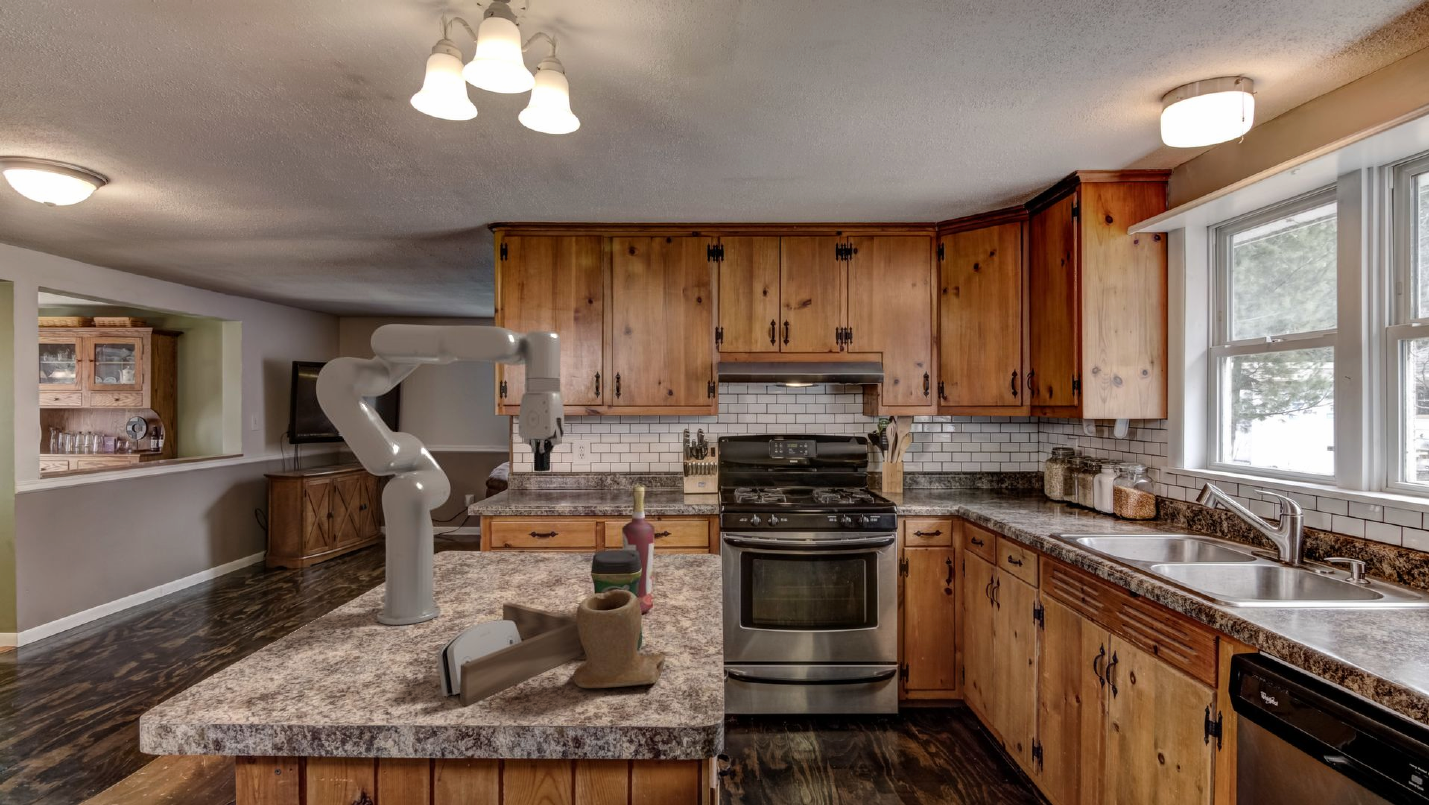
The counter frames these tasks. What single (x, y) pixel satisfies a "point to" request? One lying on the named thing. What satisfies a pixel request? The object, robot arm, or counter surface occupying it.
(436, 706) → the counter surface
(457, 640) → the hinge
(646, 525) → the liquor
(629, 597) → the tan boot-shaped piece
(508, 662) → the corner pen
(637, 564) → the coffee jar
